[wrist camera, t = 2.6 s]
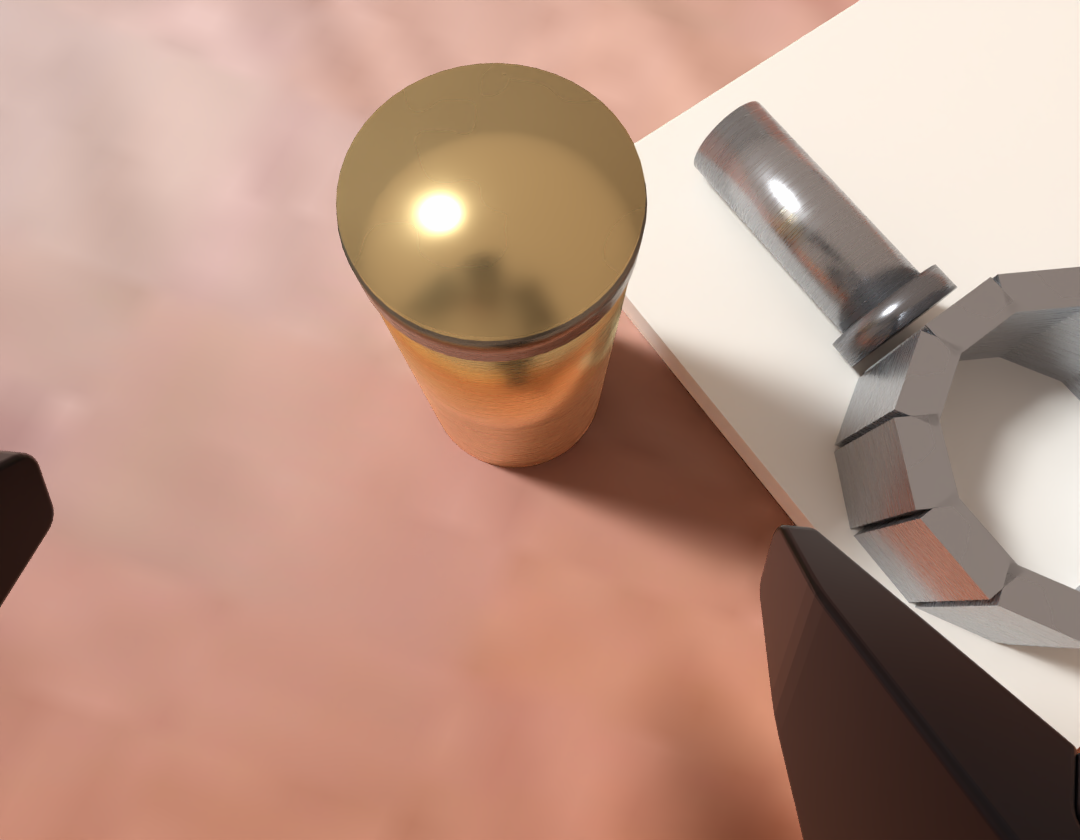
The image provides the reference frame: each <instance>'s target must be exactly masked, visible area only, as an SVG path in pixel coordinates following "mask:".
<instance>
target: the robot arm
mask: <svg viewBox="0 0 1080 840" xmlns="http://www.w3.org/2000/svg"><path fill="white" fill-rule="evenodd" d="M53 516H54V509H53V505H52V502H51V499H50V496H49V493H48V490H47V487H46V484H45V481H44V478H43V476H42V473H41V470H40V467H39V464H38V462H37V461H36V460H35V459H34V457H33V456H31V455H29V454H27V453H21V452H10V451H0V607H1V605H2V604H3V602H4V600H5V599H6V597H7V596H8V594H9V592H10V591H11V589H12V588H13V586H14V584H15V583H16V581H17V580H18V578H19V576H20V575H21V573H22V572H23V570H24V569H25V567H26V565H27V564H28V562H29V561H30V559H31V557H32V556H33V554H34V553H35V551H36V549H37V548H38V546H39V545H40V543H41V542H42V540H43V538H44V537H45V535H46V534H47V532H48V530H49V529H50V527H51V524H52V521H53ZM760 601H761V609H762V618H763V626H764V635H765V643H766V652H767V660H768V669H769V677H770V686H771V695H772V702H773V709H774V716H775V721H776V726H777V730H778V735H779V740H780V744H781V748H782V752H783V756H784V760H785V765H786V769H787V773H788V777H789V781H790V786H791V790H792V794H793V798H794V802H795V806H796V811H797V815H798V819H799V823H800V827H801V832H802V836H803V840H1080V753H1078V754H1076V753H1077V751H1076V747H1075V746H1074V745H1073V744H1072V743H1071V742H1069V741H1068V740H1067V739H1066V738H1065V737H1063V736H1062V735H1061V734H1060V733H1059V732H1058V731H1056V730H1055V729H1054V728H1053V727H1052V726H1050V725H1049V724H1048V723H1047V722H1046V721H1044V720H1043V719H1042V718H1041V717H1040V716H1038V715H1037V714H1036V713H1035V712H1034V711H1032V710H1031V709H1030V708H1029V707H1028V706H1026V705H1025V704H1024V703H1023V702H1022V701H1020V700H1019V699H1018V698H1017V697H1016V696H1015V695H1013V694H1012V693H1011V692H1010V691H1009V690H1007V689H1006V688H1005V687H1004V686H1003V685H1001V684H1000V683H999V682H998V681H997V680H995V679H994V678H993V677H992V676H991V675H989V674H988V673H987V672H986V671H985V670H983V669H982V668H981V667H980V666H979V665H977V664H976V663H975V662H974V661H973V660H972V659H970V658H969V657H968V656H967V655H966V654H964V653H963V652H962V651H961V650H960V649H958V648H957V647H956V646H955V645H954V644H952V643H951V642H950V641H949V640H948V639H946V638H945V637H944V636H943V635H942V634H940V633H939V632H938V631H937V630H936V629H934V628H933V627H932V626H931V625H930V624H928V623H927V622H926V621H925V620H924V619H923V618H921V617H920V616H919V615H918V614H917V613H915V612H914V611H913V610H912V609H911V608H909V607H908V606H907V605H906V604H905V603H903V602H902V601H901V600H900V599H899V598H897V597H896V596H895V595H894V594H893V593H891V592H890V591H889V590H888V589H887V588H885V587H884V586H883V585H882V584H881V583H880V582H878V581H877V580H876V579H875V578H874V577H872V576H871V575H870V574H869V573H868V572H866V571H865V570H864V569H863V568H862V567H860V566H859V565H858V564H857V563H856V562H854V561H853V560H852V559H851V558H850V557H848V556H847V555H846V554H845V553H844V552H842V551H841V550H840V549H839V548H838V547H837V546H835V545H834V544H833V543H832V542H831V541H829V540H828V539H827V538H826V537H825V536H823V535H822V534H821V533H820V532H818V531H817V530H816V529H814V528H810V527H800V526H789V525H781V526H780V527H778V528H777V529H776V531H775V533H774V535H773V538H772V542H771V545H770V549H769V552H768V556H767V559H766V563H765V566H764V570H763V574H762V577H761V583H760Z"/></svg>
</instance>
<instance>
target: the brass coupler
mask: <svg viewBox="0 0 1080 840" xmlns="http://www.w3.org/2000/svg"><path fill="white" fill-rule="evenodd" d="M336 209H337V222H338V231H339V235H340V239H341V243H342V247H343V250H344V252H345V255H346V257H347V260H348V262H349V264H350V266H351V268H352V270H353V272H354V274H355V275H356V277H357V279H358V281H359V282H360V284H361V286H362V288H363V289H364V291H365V293H366V294H367V296H368V298H369V299H370V301H371V303H372V304H373V305H374V306H375V308H376V309H377V310H378V311H379V313H380V314H381V316H382V318H383V320H384V322H385V323H386V325H387V327H388V329H389V331H390V333H391V334H392V336H393V338H394V340H395V342H396V343H397V345H398V347H399V349H400V351H401V352H402V354H403V356H404V358H405V360H406V362H407V363H408V365H409V367H410V369H411V371H412V372H413V374H414V376H415V378H416V380H417V382H418V383H419V385H420V387H421V389H422V391H423V392H424V394H425V396H426V398H427V400H428V401H429V403H430V405H431V407H432V409H433V411H434V412H435V414H436V416H437V418H438V420H439V421H440V423H441V425H442V427H443V428H444V430H445V432H446V433H447V434H448V435H449V437H450V438H451V439H452V440H453V441H454V442H455V443H456V444H457V445H458V446H459V447H460V448H461V449H463V450H464V451H465V452H467V453H468V454H470V455H471V456H473V457H475V458H477V459H479V460H481V461H484V462H487V463H489V464H493V465H498V466H504V467H527V466H533V465H537V464H541V463H544V462H547V461H549V460H551V459H554V458H556V457H558V456H559V455H561V454H563V453H564V452H566V451H567V450H568V449H570V448H571V447H572V446H573V445H574V444H575V443H576V442H577V441H578V440H579V439H580V438H581V437H582V436H583V435H584V433H585V432H586V430H587V429H588V428H589V426H590V424H591V422H592V420H593V418H594V416H595V413H596V410H597V407H598V403H599V399H600V395H601V391H602V387H603V383H604V379H605V375H606V371H607V367H608V363H609V359H610V355H611V351H612V346H613V342H614V338H615V334H616V330H617V326H618V322H619V318H620V314H621V310H622V306H623V302H624V298H625V294H626V290H627V286H628V282H629V280H630V277H631V275H632V272H633V270H634V267H635V264H636V261H637V257H638V253H639V249H640V245H641V242H642V237H643V233H644V228H645V224H646V215H647V192H646V183H645V178H644V174H643V169H642V165H641V161H640V158H639V156H638V153H637V150H636V148H635V145H634V143H633V142H632V140H631V138H630V136H629V134H628V133H627V131H626V129H625V128H624V126H623V125H622V124H621V123H620V121H619V120H618V119H617V117H616V116H615V115H614V114H613V113H612V112H611V111H610V110H609V109H608V108H607V107H606V106H605V105H604V104H603V103H602V102H601V101H600V100H599V99H597V98H596V97H595V96H594V95H592V94H591V93H590V92H588V91H587V90H585V89H584V88H582V87H580V86H579V85H577V84H575V83H574V82H572V81H570V80H567V79H565V78H563V77H561V76H558V75H556V74H554V73H550V72H547V71H544V70H541V69H538V68H533V67H528V66H523V65H517V64H504V63H486V64H474V65H467V66H460V67H456V68H452V69H448V70H445V71H441V72H438V73H436V74H433V75H430V76H428V77H425V78H423V79H421V80H419V81H417V82H415V83H413V84H411V85H409V86H407V87H406V88H404V89H403V90H401V91H400V92H398V93H397V94H395V95H394V96H392V97H391V98H390V99H389V100H388V101H386V102H385V103H384V104H383V105H382V106H381V107H379V108H378V109H377V110H376V111H375V112H374V114H373V115H372V116H371V117H370V118H369V119H368V120H367V121H366V122H365V124H364V125H363V127H362V128H361V129H360V131H359V132H358V134H357V135H356V137H355V138H354V140H353V142H352V144H351V146H350V148H349V150H348V152H347V154H346V157H345V159H344V162H343V165H342V168H341V171H340V176H339V181H338V186H337V200H336Z"/></svg>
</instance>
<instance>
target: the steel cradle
mask: <svg viewBox="0 0 1080 840" xmlns="http://www.w3.org/2000/svg"><path fill="white" fill-rule="evenodd" d="M694 166H695V168H696V169H697V170H698V171H699V172H700V173H701V174H702V175H703V177H704V178H705V179H706V180H707V181H708V182H709V183H710V184H711V186H712V187H713V188H714V189H715V190H716V191H717V192H718V193H719V195H720V196H721V197H722V198H723V199H724V200H725V201H726V202H727V204H728V205H729V206H730V207H731V208H732V209H733V210H734V211H735V213H736V214H737V215H738V216H739V217H740V218H741V219H742V220H743V222H744V223H745V224H746V225H747V226H748V227H749V228H750V229H751V231H752V232H753V233H754V234H755V235H756V236H757V237H758V238H759V240H760V241H761V242H762V243H763V244H764V245H765V246H766V247H767V249H768V250H769V251H770V252H771V253H772V254H773V255H774V257H775V258H776V259H777V260H778V261H779V262H780V263H781V264H782V266H783V267H784V268H785V269H786V270H787V271H788V272H789V273H790V275H791V276H792V277H793V278H794V279H795V280H796V281H797V282H798V284H799V285H800V286H801V287H802V288H803V289H804V290H805V291H806V293H807V294H808V295H809V296H810V297H811V298H812V299H813V300H814V302H815V303H816V304H817V305H818V306H819V307H820V308H821V309H822V311H823V312H824V313H825V314H826V315H827V316H828V317H829V318H830V320H831V321H832V322H833V323H834V324H835V325H836V326H837V327H838V329H839V330H840V331H841V332H842V333H843V334H842V335H841V336H840V337H839V338H838V339H837V340H836V341H835V342H834V343H833V344H832V345H833V346H834V347H835V348H836V350H837V351H838V352H839V353H840V354H841V355H842V356H843V358H844V359H845V360H846V361H847V362H848V363H849V364H850V366H851V367H853V366H854V365H856V364H857V363H859V362H860V361H861V360H863V359H864V358H865V357H867V356H868V355H870V354H871V353H872V352H874V351H875V350H876V349H878V348H879V347H880V346H882V345H883V344H885V343H886V342H887V341H889V340H890V339H891V338H893V337H894V336H895V335H897V334H898V333H900V332H901V331H902V330H904V329H905V328H906V327H908V326H909V325H910V324H912V323H913V322H914V321H916V320H917V319H918V318H920V317H921V316H922V315H924V314H925V313H926V312H927V311H929V310H930V309H931V308H933V307H934V306H935V305H936V304H938V303H939V302H940V301H942V300H943V299H944V298H945V297H947V296H948V295H949V294H950V293H952V292H953V291H954V290H955V289H956V288H957V286H956V285H955V284H954V283H953V282H952V281H951V280H950V279H949V278H948V277H947V276H946V275H945V274H944V272H943V271H942V270H941V269H940V268H939V267H938V266H937V265H936V264H935V265H932V266H931V267H929V268H927V269H926V270H924V271H923V272H921V273H920V272H919V271H918V270H917V269H916V268H915V267H914V266H913V265H912V264H911V263H910V262H909V261H908V260H907V259H906V258H905V257H904V255H903V254H902V253H901V252H900V251H899V250H898V249H897V248H896V247H895V246H894V245H893V244H892V243H891V242H890V241H889V240H888V239H887V237H886V236H885V235H884V234H883V233H882V232H881V231H880V230H879V229H878V228H877V227H876V226H875V225H874V224H873V223H872V222H871V220H870V219H869V218H868V217H867V216H866V215H865V214H864V213H863V212H862V211H861V210H860V209H859V208H858V207H857V206H856V205H855V204H854V202H853V201H852V200H851V199H850V198H849V197H848V196H847V195H846V194H845V193H844V192H843V191H842V190H841V189H840V188H839V187H838V185H837V184H836V183H835V182H834V181H833V180H832V179H831V178H830V177H829V176H828V175H827V174H826V173H825V172H824V171H823V170H822V169H821V167H820V166H819V165H818V164H817V163H816V162H815V161H814V160H813V159H812V158H811V157H810V156H809V155H808V154H807V153H806V152H805V150H804V149H803V148H802V147H801V146H800V145H799V144H798V143H797V142H796V141H795V140H794V139H793V138H792V137H791V136H790V135H789V134H788V132H787V131H786V130H785V129H784V128H783V127H782V126H781V125H780V124H779V123H778V122H777V121H776V120H775V119H774V118H773V117H772V115H771V114H770V113H769V112H768V111H767V110H766V109H765V108H764V107H763V106H762V105H761V104H760V103H759V102H757V101H752V102H749V103H746V104H744V105H742V106H740V107H739V108H737V109H736V110H734V111H733V112H731V113H730V114H729V115H728V116H726V117H725V118H724V119H723V120H722V121H721V122H720V123H719V124H718V125H717V126H716V127H715V128H714V129H713V130H712V131H711V132H710V133H709V135H708V136H707V137H706V138H705V140H704V141H703V143H702V144H701V146H700V147H699V149H698V151H697V153H696V155H695V158H694ZM995 357H1000V358H1003V359H1005V360H1008V361H1010V362H1013V363H1016V364H1018V365H1021V366H1023V367H1026V368H1028V369H1031V370H1033V371H1036V372H1038V373H1041V374H1043V375H1046V376H1049V377H1051V378H1054V379H1056V380H1059V381H1061V382H1062V383H1063V384H1064V385H1065V386H1066V387H1067V388H1068V389H1069V390H1070V391H1071V392H1072V393H1073V394H1074V395H1075V396H1076V397H1077V398H1078V399H1079V400H1080V267H1071V268H1060V269H1049V270H1038V271H1027V272H1016V273H1005V274H997V275H996V276H995V277H994V278H991V277H990V278H988V279H987V280H986V281H984V282H983V283H982V284H980V285H979V286H978V287H976V288H975V289H973V290H972V291H971V292H969V293H968V294H967V295H965V296H964V297H963V298H961V299H960V300H958V301H957V302H956V303H954V304H953V305H952V306H950V307H949V308H948V309H946V310H945V311H944V312H942V313H941V314H939V315H938V316H937V317H935V318H934V319H933V320H931V321H930V322H929V323H927V324H926V325H925V326H923V327H922V328H921V329H919V330H918V331H917V332H915V333H914V334H913V335H912V336H910V337H909V338H908V339H906V340H905V341H904V342H902V343H901V344H900V345H899V346H897V347H896V348H895V349H893V350H892V351H891V352H889V353H888V354H887V355H885V356H884V357H883V358H882V359H880V360H879V361H878V362H876V363H875V364H874V365H872V366H871V367H870V368H869V369H867V370H866V371H865V372H863V373H862V374H863V375H862V376H861V377H860V378H858V381H857V383H856V386H855V389H854V392H853V395H852V397H851V400H850V403H849V406H848V409H847V411H846V414H845V417H844V420H843V423H842V425H841V428H840V431H839V434H838V436H837V439H836V442H835V445H836V446H838V447H841V448H840V449H838V450H836V451H835V452H834V454H835V459H836V463H837V468H838V473H839V478H840V483H841V487H842V492H843V497H844V502H845V506H846V511H847V516H848V521H849V526H850V529H852V528H862V527H864V528H863V529H861V530H860V531H859V532H858V533H856V534H855V535H854V537H855V538H856V539H857V540H858V542H859V543H860V544H861V545H862V546H863V548H864V549H865V550H866V551H867V553H868V554H869V555H870V556H871V557H872V559H873V560H874V561H875V562H876V563H877V565H878V566H879V567H880V568H881V570H882V571H883V572H884V573H885V574H886V576H887V577H888V578H889V579H890V580H891V582H892V583H893V584H894V585H895V587H896V588H897V589H898V590H899V591H900V593H901V594H902V595H903V596H904V597H905V599H906V600H907V601H908V602H917V603H916V606H915V608H918V609H920V610H922V611H925V612H927V613H929V614H931V615H934V616H936V617H938V618H940V619H943V620H945V621H947V622H949V623H952V624H954V625H956V626H958V627H961V628H963V629H965V630H968V631H970V632H972V633H974V634H977V635H979V636H981V637H983V638H986V639H988V640H990V641H992V642H995V643H1003V644H1009V645H1025V646H1040V647H1056V648H1072V649H1080V586H1078V587H1077V588H1076V589H1073V588H1071V587H1068V586H1066V585H1064V584H1061V583H1059V582H1057V581H1054V580H1052V579H1050V578H1047V577H1045V576H1043V575H1040V574H1038V573H1036V572H1033V571H1031V570H1029V569H1026V568H1024V567H1022V566H1019V565H1017V563H1016V562H1015V561H1014V560H1013V559H1012V558H1011V557H1010V555H1009V554H1008V553H1007V552H1006V551H1005V550H1004V549H1003V547H1002V546H1001V545H1000V544H999V543H998V542H997V541H996V539H995V538H994V537H993V536H992V535H991V534H990V533H989V532H988V530H987V529H986V528H985V527H984V526H983V525H982V524H981V522H980V521H979V520H978V519H977V518H976V517H975V516H974V514H973V513H972V512H971V511H970V510H969V509H968V508H967V506H966V505H965V504H964V503H963V502H962V501H961V500H960V498H959V496H958V492H957V488H956V484H955V480H954V476H953V472H952V468H951V464H950V460H949V456H948V452H947V448H946V444H945V440H944V436H943V432H942V428H941V424H940V418H941V414H942V411H943V408H944V405H945V402H946V399H947V396H948V393H949V390H950V387H951V383H952V380H953V377H954V374H955V371H956V368H957V365H958V362H959V361H963V360H973V359H984V358H995Z"/></svg>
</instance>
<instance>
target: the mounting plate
mask: <svg viewBox="0 0 1080 840" xmlns="http://www.w3.org/2000/svg"><path fill="white" fill-rule="evenodd" d="M752 101H757V102H759V103H760V104H761V105H762V106H763V107H764V108H765V109H766V110H767V111H768V112H769V113H770V114H771V115H772V117H773V118H774V119H775V120H776V121H777V122H778V123H779V124H780V125H781V126H782V127H783V128H784V129H785V130H786V131H787V132H788V134H789V135H790V136H791V137H792V138H793V139H794V140H795V141H796V142H797V143H798V144H799V145H800V146H801V147H802V148H803V149H804V150H805V152H806V153H807V154H808V155H809V156H810V157H811V158H812V159H813V160H814V161H815V162H816V163H817V164H818V165H819V166H820V167H821V169H822V170H823V171H824V172H825V173H826V174H827V175H828V176H829V177H830V178H831V179H832V180H833V181H834V182H835V183H836V184H837V185H838V187H839V188H840V189H841V190H842V191H843V192H844V193H845V194H846V195H847V196H848V197H849V198H850V199H851V200H852V201H853V202H854V204H855V205H856V206H857V207H858V208H859V209H860V210H861V211H862V212H863V213H864V214H865V215H866V216H867V217H868V218H869V219H870V220H871V222H872V223H873V224H874V225H875V226H876V227H877V228H878V229H879V230H880V231H881V232H882V233H883V234H884V235H885V236H886V237H887V239H888V240H889V241H890V242H891V243H892V244H893V245H894V246H895V247H896V248H897V249H898V250H899V251H900V252H901V253H902V254H903V255H904V257H905V258H906V259H907V260H908V261H909V262H910V263H911V264H912V265H913V266H914V267H915V268H916V269H917V270H918V271H919V272H920V273H921V272H923V271H924V270H926V269H927V268H929V267H931V266H932V265H935V264H936V265H937V266H938V267H939V268H940V269H941V270H942V271H943V272H944V274H945V275H946V276H947V277H948V278H949V279H950V280H951V281H952V282H953V283H954V284H955V285H956V286H957V288H956V289H955V290H954V291H953V292H952V293H950V294H949V295H948V296H947V297H945V298H944V299H943V300H942V301H940V302H939V303H938V304H936V305H935V306H934V307H933V308H931V309H930V310H929V311H927V312H926V313H925V314H924V315H922V316H921V317H920V318H918V319H917V320H916V321H914V322H913V323H912V324H910V325H909V326H908V327H906V328H905V329H904V330H902V331H901V332H900V333H898V334H897V335H895V336H894V337H893V338H891V339H890V340H889V341H887V342H886V343H885V344H883V345H882V346H880V347H879V348H878V349H876V350H875V351H874V352H872V353H871V354H870V355H868V356H867V357H865V358H864V359H863V360H861V361H860V362H859V363H857V364H856V365H854V366H853V367H851V366H850V364H849V363H848V362H847V361H846V360H845V359H844V358H843V356H842V355H841V354H840V353H839V352H838V351H837V350H836V348H835V347H834V346H833V345H832V344H833V343H834V342H835V341H836V340H837V339H838V338H839V337H840V336H841V335H842V334H843V333H842V332H841V331H840V330H839V329H838V327H837V326H836V325H835V324H834V323H833V322H832V321H831V320H830V318H829V317H828V316H827V315H826V314H825V313H824V312H823V311H822V309H821V308H820V307H819V306H818V305H817V304H816V303H815V302H814V300H813V299H812V298H811V297H810V296H809V295H808V294H807V293H806V291H805V290H804V289H803V288H802V287H801V286H800V285H799V284H798V282H797V281H796V280H795V279H794V278H793V277H792V276H791V275H790V273H789V272H788V271H787V270H786V269H785V268H784V267H783V266H782V264H781V263H780V262H779V261H778V260H777V259H776V258H775V257H774V255H773V254H772V253H771V252H770V251H769V250H768V249H767V247H766V246H765V245H764V244H763V243H762V242H761V241H760V240H759V238H758V237H757V236H756V235H755V234H754V233H753V232H752V231H751V229H750V228H749V227H748V226H747V225H746V224H745V223H744V222H743V220H742V219H741V218H740V217H739V216H738V215H737V214H736V213H735V211H734V210H733V209H732V208H731V207H730V206H729V205H728V204H727V202H726V201H725V200H724V199H723V198H722V197H721V196H720V195H719V193H718V192H717V191H716V190H715V189H714V188H713V187H712V186H711V184H710V183H709V182H708V181H707V180H706V179H705V178H704V177H703V175H702V174H701V173H700V172H699V171H698V170H697V169H696V168H695V166H694V158H695V155H696V153H697V151H698V149H699V147H700V146H701V144H702V143H703V141H704V140H705V138H706V137H707V136H708V135H709V133H710V132H711V131H712V130H713V129H714V128H715V127H716V126H717V125H718V124H719V123H720V122H721V121H722V120H723V119H724V118H725V117H726V116H728V115H729V114H730V113H731V112H733V111H734V110H736V109H737V108H739V107H740V106H742V105H744V104H746V103H749V102H752ZM634 145H635V148H636V150H637V153H638V156H639V158H640V161H641V165H642V169H643V174H644V178H645V183H646V192H647V215H646V224H645V228H644V233H643V237H642V242H641V245H640V249H639V253H638V257H637V261H636V264H635V267H634V270H633V272H632V275H631V277H630V280H629V282H628V286H627V290H626V294H625V298H624V302H623V306H622V310H623V311H624V312H625V314H626V315H627V316H628V317H629V319H630V320H631V321H632V322H633V324H634V325H635V326H636V327H637V329H638V330H639V331H640V332H641V333H642V335H643V336H644V337H645V338H646V340H647V341H648V342H649V343H650V345H651V346H652V347H653V348H654V350H655V351H656V352H657V353H658V355H659V356H660V357H661V358H662V360H663V361H664V362H665V363H666V364H667V366H668V367H669V368H670V369H671V371H672V372H673V373H674V374H675V376H676V377H677V378H678V379H679V381H680V382H681V383H682V384H683V386H684V387H685V388H686V389H687V391H688V392H689V393H690V394H691V395H692V397H693V398H694V399H695V400H696V402H697V403H698V404H699V405H700V407H701V408H702V409H703V410H704V412H705V413H706V414H707V415H708V417H709V418H710V419H711V420H712V422H713V423H714V424H715V425H716V426H717V428H718V429H719V430H720V431H721V433H722V434H723V435H724V436H725V438H726V439H727V440H728V441H729V443H730V444H731V445H732V446H733V448H734V449H735V450H736V451H737V453H738V454H739V455H740V456H741V457H742V459H743V460H744V461H745V462H746V464H747V465H748V466H749V467H750V469H751V470H752V471H753V472H754V474H755V475H756V476H757V477H758V479H759V480H760V481H761V482H762V484H763V485H764V486H765V487H766V488H767V490H768V491H769V492H770V493H771V495H772V496H773V497H774V498H775V500H776V501H777V502H778V503H779V505H780V506H781V507H782V508H783V510H784V511H785V512H786V513H787V515H788V516H789V517H790V518H791V519H792V521H793V522H794V523H795V524H796V526H800V527H810V528H814V529H816V530H817V531H818V532H820V533H821V534H822V535H823V536H825V537H826V538H827V539H828V540H829V541H831V542H832V543H833V544H834V545H835V546H837V547H838V548H839V549H840V550H841V551H842V552H844V553H845V554H846V555H847V556H848V557H850V558H851V559H852V560H853V561H854V562H856V563H857V564H858V565H859V566H860V567H862V568H863V569H864V570H865V571H866V572H868V573H869V574H870V575H871V576H872V577H874V578H875V579H876V580H877V581H878V582H880V583H881V584H882V585H883V586H884V587H885V588H887V589H888V590H889V591H890V592H891V593H893V594H894V595H895V596H896V597H897V598H899V599H900V600H901V601H902V602H903V603H905V604H906V605H907V606H908V607H909V608H911V609H912V610H913V611H914V612H915V613H917V614H918V615H919V616H920V617H921V618H923V619H924V620H925V621H926V622H927V623H928V624H930V625H931V626H932V627H933V628H934V629H936V630H937V631H938V632H939V633H940V634H942V635H943V636H944V637H945V638H946V639H948V640H949V641H950V642H951V643H952V644H954V645H955V646H956V647H957V648H958V649H960V650H961V651H962V652H963V653H964V654H966V655H967V656H968V657H969V658H970V659H972V660H973V661H974V662H975V663H976V664H977V665H979V666H980V667H981V668H982V669H983V670H985V671H986V672H987V673H988V674H989V675H991V676H992V677H993V678H994V679H995V680H997V681H998V682H999V683H1000V684H1001V685H1003V686H1004V687H1005V688H1006V689H1007V690H1009V691H1010V692H1011V693H1012V694H1013V695H1015V696H1016V697H1017V698H1018V699H1019V700H1020V701H1022V702H1023V703H1024V704H1025V705H1026V706H1028V707H1029V708H1030V709H1031V710H1032V711H1034V712H1035V713H1036V714H1037V715H1038V716H1040V717H1041V718H1042V719H1043V720H1044V721H1046V722H1047V723H1048V724H1049V725H1050V726H1052V727H1053V728H1054V729H1055V730H1056V731H1058V732H1059V733H1060V734H1061V735H1062V736H1063V737H1065V738H1066V739H1067V740H1068V741H1069V742H1071V743H1072V744H1073V745H1074V746H1075V747H1076V750H1077V749H1078V748H1079V747H1080V649H1072V648H1056V647H1040V646H1025V645H1009V644H1003V643H995V642H992V641H990V640H988V639H986V638H983V637H981V636H979V635H977V634H974V633H972V632H970V631H968V630H965V629H963V628H961V627H958V626H956V625H954V624H952V623H949V622H947V621H945V620H943V619H940V618H938V617H936V616H934V615H931V614H929V613H927V612H925V611H922V610H920V609H918V608H915V606H916V603H917V602H908V601H907V600H906V599H905V597H904V596H903V595H902V594H901V593H900V591H899V590H898V589H897V588H896V587H895V585H894V584H893V583H892V582H891V580H890V579H889V578H888V577H887V576H886V574H885V573H884V572H883V571H882V570H881V568H880V567H879V566H878V565H877V563H876V562H875V561H874V560H873V559H872V557H871V556H870V555H869V554H868V553H867V551H866V550H865V549H864V548H863V546H862V545H861V544H860V543H859V542H858V540H857V539H856V538H855V537H854V535H855V534H856V533H858V532H859V531H860V530H861V529H863V528H864V527H862V528H852V529H850V526H849V521H848V516H847V511H846V506H845V502H844V497H843V492H842V487H841V483H840V478H839V473H838V468H837V463H836V459H835V454H834V452H835V451H836V450H838V449H840V448H841V447H838V446H836V445H835V442H836V439H837V436H838V434H839V431H840V428H841V425H842V423H843V420H844V417H845V414H846V411H847V409H848V406H849V403H850V400H851V397H852V395H853V392H854V389H855V386H856V383H857V381H858V378H860V377H861V376H862V375H863V374H862V373H863V372H865V371H866V370H867V369H869V368H870V367H871V366H872V365H874V364H875V363H876V362H878V361H879V360H880V359H882V358H883V357H884V356H885V355H887V354H888V353H889V352H891V351H892V350H893V349H895V348H896V347H897V346H899V345H900V344H901V343H902V342H904V341H905V340H906V339H908V338H909V337H910V336H912V335H913V334H914V333H915V332H917V331H918V330H919V329H921V328H922V327H923V326H925V325H926V324H927V323H929V322H930V321H931V320H933V319H934V318H935V317H937V316H938V315H939V314H941V313H942V312H944V311H945V310H946V309H948V308H949V307H950V306H952V305H953V304H954V303H956V302H957V301H958V300H960V299H961V298H963V297H964V296H965V295H967V294H968V293H969V292H971V291H972V290H973V289H975V288H976V287H978V286H979V285H980V284H982V283H983V282H984V281H986V280H987V279H988V278H990V277H991V278H994V277H995V276H996V275H997V274H1005V273H1016V272H1027V271H1038V270H1049V269H1060V268H1071V267H1080V0H860V1H858V2H857V3H855V4H854V5H852V6H850V7H849V8H847V9H846V10H844V11H842V12H841V13H839V14H838V15H836V16H835V17H833V18H831V19H830V20H828V21H827V22H825V23H824V24H822V25H820V26H819V27H817V28H816V29H814V30H813V31H811V32H809V33H808V34H806V35H805V36H803V37H802V38H800V39H798V40H797V41H795V42H794V43H792V44H791V45H789V46H787V47H786V48H784V49H783V50H781V51H780V52H778V53H776V54H775V55H773V56H772V57H770V58H768V59H767V60H765V61H764V62H762V63H761V64H759V65H757V66H756V67H754V68H753V69H751V70H750V71H748V72H746V73H745V74H743V75H742V76H740V77H739V78H737V79H735V80H734V81H732V82H731V83H729V84H728V85H726V86H724V87H723V88H721V89H720V90H718V91H717V92H715V93H713V94H712V95H710V96H709V97H707V98H705V99H704V100H702V101H701V102H699V103H698V104H696V105H694V106H693V107H691V108H690V109H688V110H687V111H685V112H683V113H682V114H680V115H679V116H677V117H676V118H674V119H672V120H671V121H669V122H668V123H666V124H665V125H663V126H661V127H660V128H658V129H657V130H655V131H654V132H652V133H650V134H649V135H647V136H646V137H644V138H643V139H641V140H639V141H638V142H636V143H635V144H634ZM940 424H941V428H942V432H943V436H944V440H945V444H946V448H947V452H948V456H949V460H950V464H951V468H952V472H953V476H954V480H955V484H956V488H957V492H958V496H959V498H960V500H961V501H962V502H963V503H964V504H965V505H966V506H967V508H968V509H969V510H970V511H971V512H972V513H973V514H974V516H975V517H976V518H977V519H978V520H979V521H980V522H981V524H982V525H983V526H984V527H985V528H986V529H987V530H988V532H989V533H990V534H991V535H992V536H993V537H994V538H995V539H996V541H997V542H998V543H999V544H1000V545H1001V546H1002V547H1003V549H1004V550H1005V551H1006V552H1007V553H1008V554H1009V555H1010V557H1011V558H1012V559H1013V560H1014V561H1015V562H1016V563H1017V565H1019V566H1022V567H1024V568H1026V569H1029V570H1031V571H1033V572H1036V573H1038V574H1040V575H1043V576H1045V577H1047V578H1050V579H1052V580H1054V581H1057V582H1059V583H1061V584H1064V585H1066V586H1068V587H1071V588H1073V589H1076V588H1077V587H1078V586H1080V400H1079V399H1078V398H1077V397H1076V396H1075V395H1074V394H1073V393H1072V392H1071V391H1070V390H1069V389H1068V388H1067V387H1066V386H1065V385H1064V384H1063V383H1062V382H1061V381H1059V380H1056V379H1054V378H1051V377H1049V376H1046V375H1043V374H1041V373H1038V372H1036V371H1033V370H1031V369H1028V368H1026V367H1023V366H1021V365H1018V364H1016V363H1013V362H1010V361H1008V360H1005V359H1003V358H1000V357H995V358H984V359H973V360H963V361H959V362H958V365H957V368H956V371H955V374H954V377H953V380H952V383H951V387H950V390H949V393H948V396H947V399H946V402H945V405H944V408H943V411H942V414H941V418H940Z"/></svg>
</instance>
